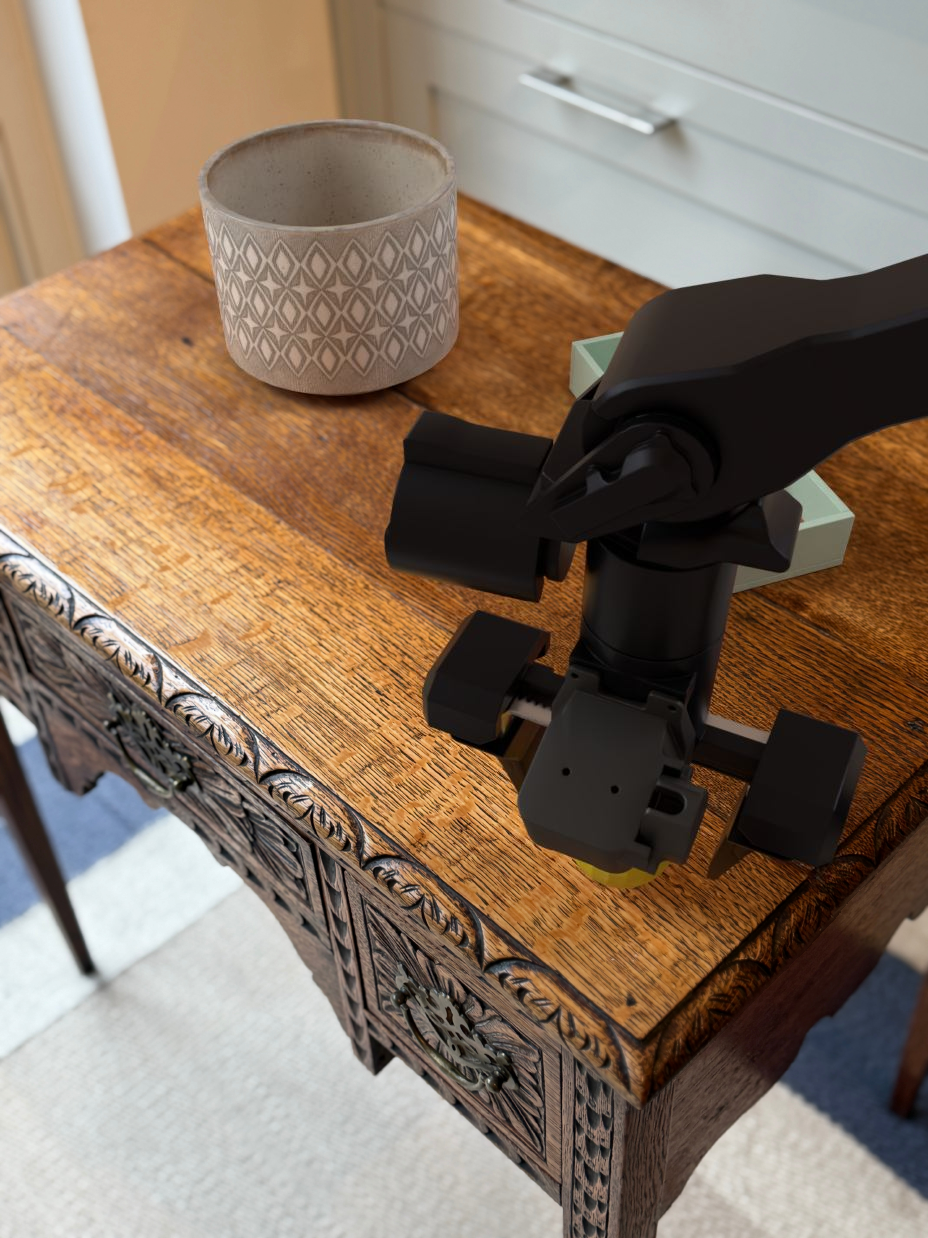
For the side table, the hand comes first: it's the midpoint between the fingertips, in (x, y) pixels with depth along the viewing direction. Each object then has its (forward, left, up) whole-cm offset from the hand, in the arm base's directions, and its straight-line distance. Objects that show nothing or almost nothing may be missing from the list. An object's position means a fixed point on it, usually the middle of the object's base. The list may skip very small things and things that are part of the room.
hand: (622, 838), depth 58 cm
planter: (+52, -8, -3) cm, 53 cm away
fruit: (0, 0, -3) cm, 3 cm away
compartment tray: (+25, -23, -3) cm, 34 cm away
